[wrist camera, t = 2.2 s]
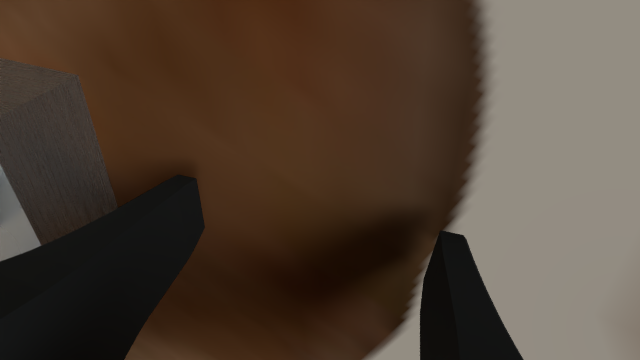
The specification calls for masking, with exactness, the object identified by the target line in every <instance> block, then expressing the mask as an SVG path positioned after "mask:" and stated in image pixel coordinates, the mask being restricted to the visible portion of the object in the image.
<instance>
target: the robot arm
mask: <svg viewBox="0 0 640 360" xmlns="http://www.w3.org/2000/svg"><path fill="white" fill-rule="evenodd" d="M204 228H205V226H204V220H203V214H202V208H201V203H200V197H199V191H198V186H197V180H196V178H191V177H187V176H182V175H176V176H174V177H172V178H170V179H169V180H167V181H165V182H163V183H161V184H160V185H158V186H156V187H154V188H153V189H151V190H149V191H147V192H146V193H144V194H142V195H140V196H139V197H137V198H135V199H133V200H131V201H130V202H128V203H126V204H124V205H122V206H121V207H119V208H117V209H115V210H114V211H112V212H110V213H108V214H106V215H104V216H102V217H100V218H98V219H96V220H94V221H92V222H90V223H88V224H87V225H85V226H83V227H81V228H79V229H77V230H75V231H73V232H71V233H68V234H66V235H64V236H62V237H60V238H58V239H55V240H53V241H51V242H48V243H46V244H44V245H41V246H39V247H37V248H34V249H32V250H29V251H27V252H25V253H22V254H19V255H16V256H14V257H11V258H8V259H5V260H3V261H0V360H124V359H125V357H126V355H127V353H128V351H129V350H130V348H131V346H132V344H133V342H134V341H135V339H136V337H137V335H138V333H139V332H140V330H141V328H142V327H143V325H144V323H145V322H146V320H147V319H148V317H149V316H150V314H151V313H152V311H153V310H154V308H155V307H156V306H157V304H158V303H159V301H160V300H161V298H162V297H163V295H164V294H165V293H166V291H167V290H168V288H169V287H170V285H171V284H172V282H173V281H174V280H175V278H176V277H177V275H178V274H179V272H180V271H181V269H182V268H183V266H184V265H185V263H186V262H187V260H188V259H189V257H190V256H191V254H192V252H193V250H194V248H195V246H196V244H197V242H198V240H199V238H200V236H201V234H202V232H203V230H204ZM420 360H523V358H522V356H521V355H520V353H519V351H518V349H517V348H516V346H515V345H514V343H513V341H512V339H511V337H510V335H509V333H508V332H507V330H506V328H505V326H504V324H503V322H502V320H501V318H500V317H499V315H498V312H497V310H496V308H495V306H494V304H493V302H492V300H491V298H490V296H489V294H488V292H487V290H486V287H485V285H484V283H483V281H482V278H481V276H480V274H479V271H478V269H477V266H476V264H475V261H474V259H473V256H472V254H471V251H470V248H469V245H468V243H467V240H466V238H465V237H464V236H463V235H460V234H455V233H450V232H446V231H441V230H440V233H439V236H438V239H437V242H436V244H435V247H434V250H433V253H432V256H431V259H430V262H429V265H428V268H427V271H426V274H425V277H424V281H423V290H422V299H421V309H420Z"/></svg>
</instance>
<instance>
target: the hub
mask: <svg viewBox="0 0 640 360" xmlns="http://www.w3.org/2000/svg"><path fill="white" fill-rule="evenodd" d="M117 208H118V206H117V203H116V200H115V196H114V193H113V190H112V186H111V183H110V180H109V176H108V173H107V170H106V166H105V163H104V160H103V156H102V153H101V150H100V147H99V143H98V140H97V137H96V133H95V130H94V127H93V123H92V120H91V117H90V113H89V110H88V107H87V103H86V100H85V97H84V93H83V90H82V87H81V83H80V80H79V77H78V75H75V74H71V73H66V72H62V71H57V70H53V69H48V68H43V67H39V66H34V65H30V64H25V63H21V62H16V61H11V60H7V59H2V58H0V261H3V260H5V259H8V258H11V257H14V256H16V255H19V254H22V253H25V252H27V251H29V250H32V249H34V248H37V247H39V246H41V245H44V244H46V243H48V242H51V241H53V240H55V239H58V238H60V237H62V236H64V235H66V234H68V233H71V232H73V231H75V230H77V229H79V228H81V227H83V226H85V225H87V224H88V223H90V222H92V221H94V220H96V219H98V218H100V217H102V216H104V215H106V214H108V213H110V212H112V211H114V210H115V209H117Z"/></svg>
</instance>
